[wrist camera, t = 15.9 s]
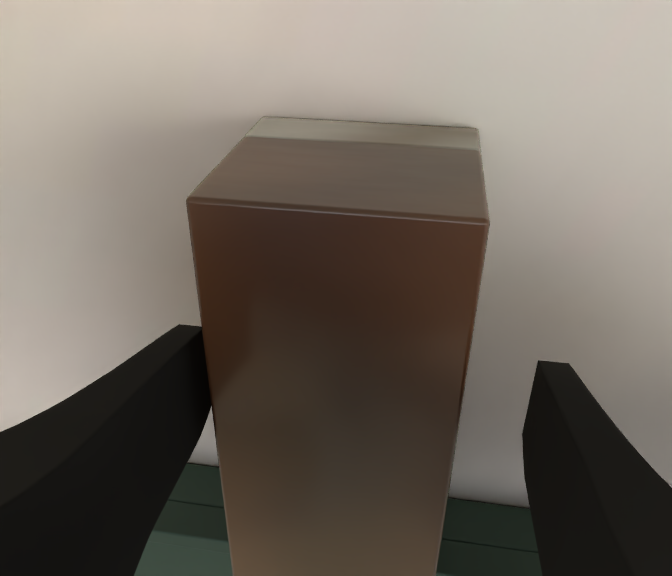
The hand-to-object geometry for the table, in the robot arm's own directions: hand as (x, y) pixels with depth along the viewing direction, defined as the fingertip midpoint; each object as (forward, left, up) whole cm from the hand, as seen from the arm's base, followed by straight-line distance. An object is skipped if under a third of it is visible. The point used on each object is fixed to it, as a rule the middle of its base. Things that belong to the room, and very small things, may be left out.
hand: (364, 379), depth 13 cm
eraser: (+1, +1, -4) cm, 4 cm away
